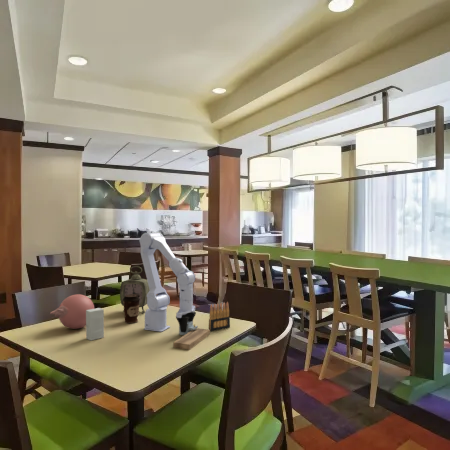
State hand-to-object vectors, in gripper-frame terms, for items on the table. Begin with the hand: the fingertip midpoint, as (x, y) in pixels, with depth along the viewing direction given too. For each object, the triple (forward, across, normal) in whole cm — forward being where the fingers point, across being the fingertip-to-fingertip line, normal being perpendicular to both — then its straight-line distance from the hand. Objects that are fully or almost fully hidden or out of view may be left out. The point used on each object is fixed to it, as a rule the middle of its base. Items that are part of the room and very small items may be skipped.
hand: (186, 330), depth 155 cm
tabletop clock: (+2, +24, +42) cm, 48 cm away
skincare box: (+2, -19, +33) cm, 38 cm away
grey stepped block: (+1, 0, -1) cm, 2 cm away
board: (+2, -7, -6) cm, 10 cm away
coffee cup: (+2, +7, +33) cm, 34 cm away
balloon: (+2, -13, +51) cm, 53 cm away
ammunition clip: (+2, +12, -11) cm, 16 cm away
